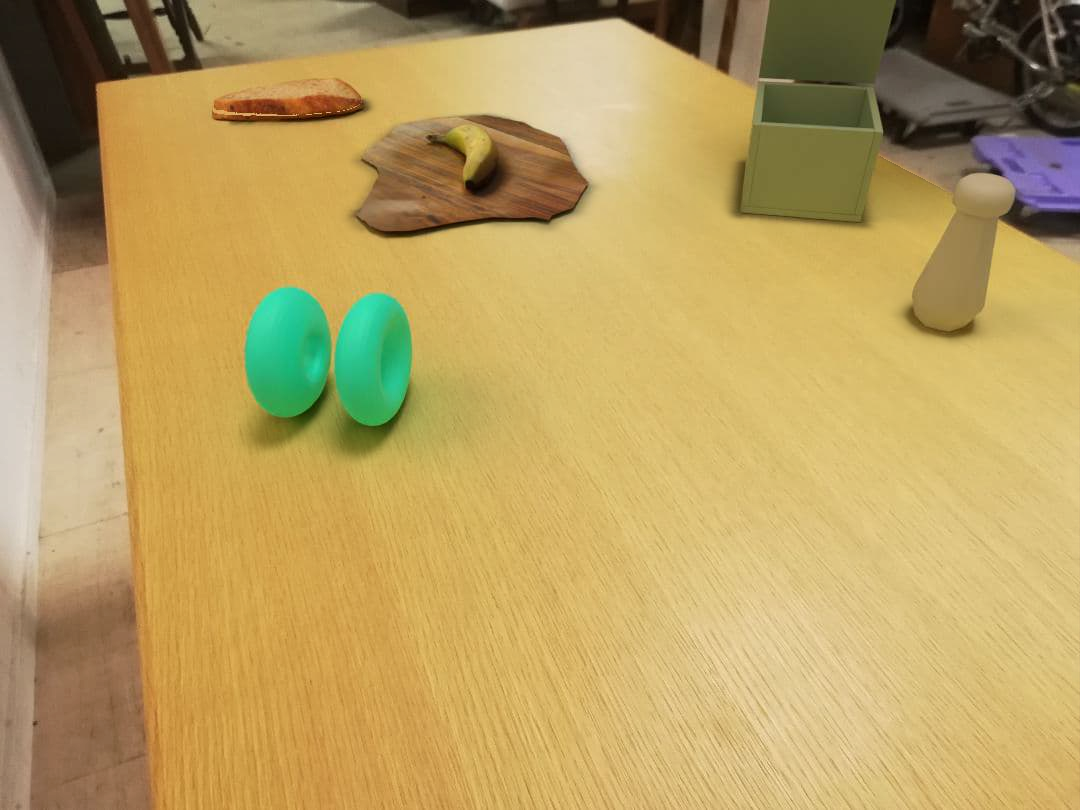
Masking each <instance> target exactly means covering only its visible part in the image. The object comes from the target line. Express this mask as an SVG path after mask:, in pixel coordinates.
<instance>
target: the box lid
mask: <svg viewBox="0 0 1080 810" xmlns="http://www.w3.org/2000/svg"><path fill="white" fill-rule="evenodd" d="M896 2H897V0H769V3H768V9H767V10H768V11H767V16H766V24H765V31H764V36H763V37H764V38H763V44H762V51H761V58H760V65H759V71H758V79H769V80H790V81H791V80H792V81H811V82H812V81H813V82H830V83H831V82H832V83H853V84H870V85H871V84H872V85H873V84H874V85H875V84H876V82H877V77H878V73H879V70H880V65H881V62H882V57H883V53H884V49H885V45H886V42H887V37H888V33H889V29H890V25H891V23H892V19H893V18H892V17H893V14H894V10H895V5H896Z"/></svg>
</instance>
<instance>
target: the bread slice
mask: <svg viewBox="0 0 1080 810" xmlns="http://www.w3.org/2000/svg"><path fill="white" fill-rule="evenodd" d="M361 98H362V96H361V95H360V94H359V92H358V91H357V90H356V89H355V88H354V87H353V86H352V85H350V84H349V83H347V82H345V81H344V80H342V79H341V78H339V77H332V78H317V77H316V78H314V77H313V78H308V79H307V78H305V79H300V80H288V81H283V82H279V83H275V84H266V85H262V86H257V87H251V88H245V89H243V90H239V91H234V92H231V93H227V94H224V95H222V96H220V97H217V98H216V99H214V100H213V105H214V106H212V108H213V107H214V108H215V109H216V110H224V111H227V112H235V113H236V112H237V113H255V114H256V113H257V114H260V113H261V114H277V115H293V114H294V115H296V114H297V116H256V115H251V116H243V115H225V114H217V113H214V112H213V110H212V109H211V116H212V118H213V119H215V120H228V121H239V122H240V121H282V120H296V119H297V120H298V119H302V120H305V119H311V118H313V119H314V118H316V119H318V118H324V117H329V116H341V115H346V114H350V113H353V112H355V111H359V110H362V109H364V108H365V103H364V100H363V99H362V100H361ZM361 101H362V103H361ZM359 104H360V105H359ZM358 105H359V106H358ZM355 106H357V107H355ZM353 107H355V108H353ZM350 108H352V109H350ZM347 109H349V110H347ZM343 110H345V111H343ZM337 111H340V112H337ZM326 112H331V113H326ZM314 113H322V114H314ZM298 114H299V115H298ZM306 114H312V115H306Z"/></svg>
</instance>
